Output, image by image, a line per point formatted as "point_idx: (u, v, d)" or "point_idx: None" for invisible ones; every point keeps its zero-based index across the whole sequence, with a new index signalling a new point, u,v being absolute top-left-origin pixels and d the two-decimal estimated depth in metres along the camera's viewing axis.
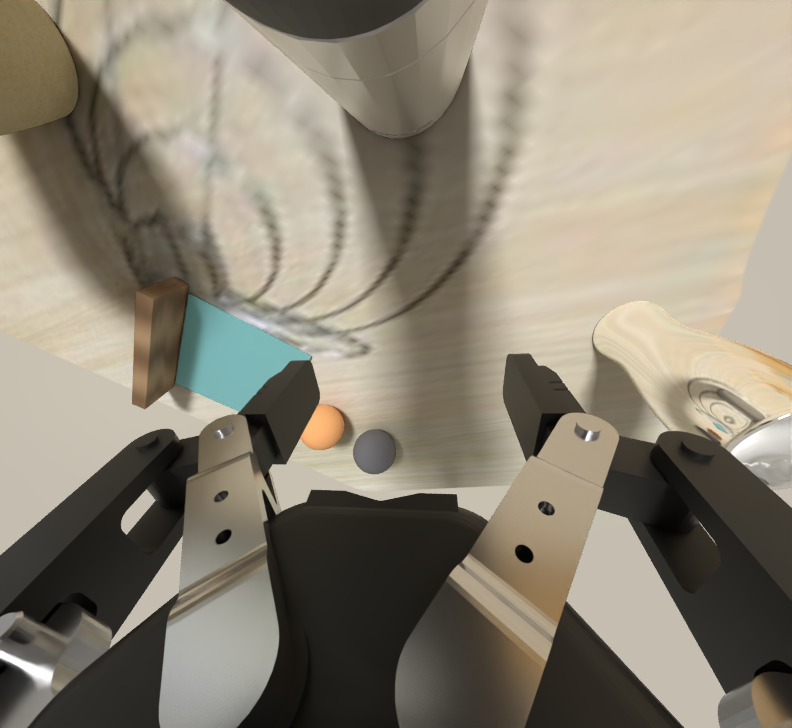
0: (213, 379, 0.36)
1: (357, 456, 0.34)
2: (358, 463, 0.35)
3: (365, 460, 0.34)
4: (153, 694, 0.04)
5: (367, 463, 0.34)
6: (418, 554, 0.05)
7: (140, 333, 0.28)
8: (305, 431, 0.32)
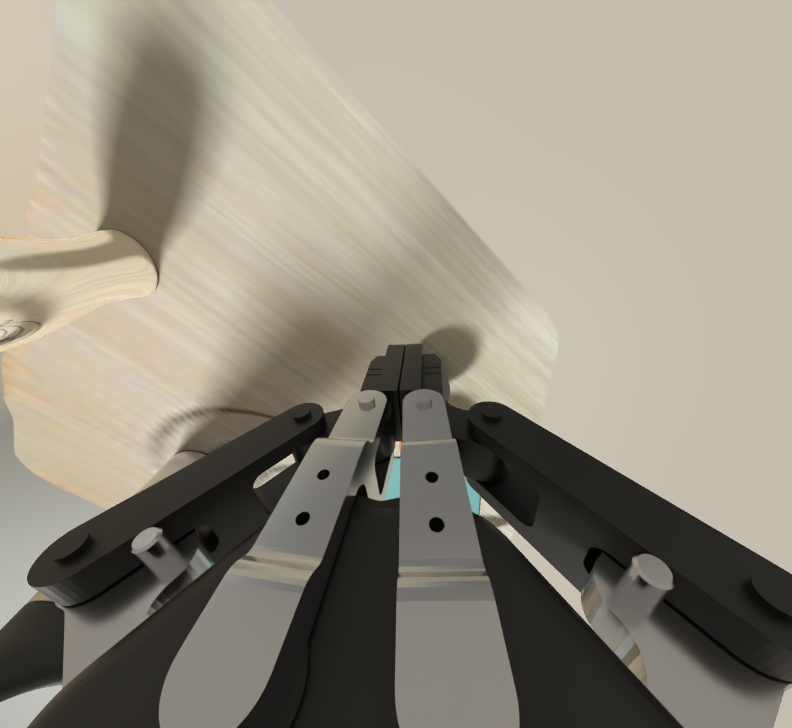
0: None
1: None
2: None
3: None
4: None
5: None
6: None
7: None
8: None
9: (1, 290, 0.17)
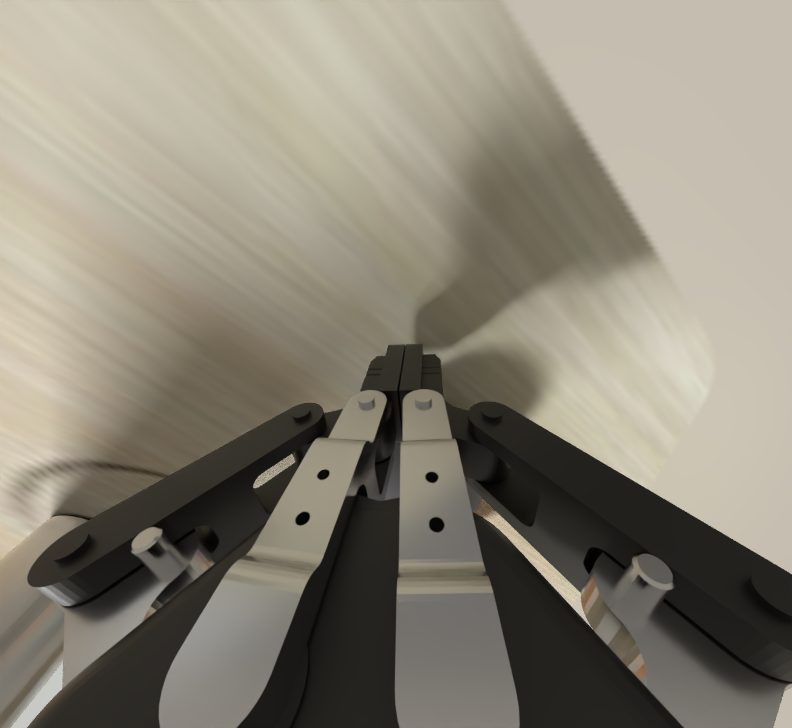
0: None
1: None
2: None
3: None
4: None
5: None
6: None
7: None
8: None
9: None
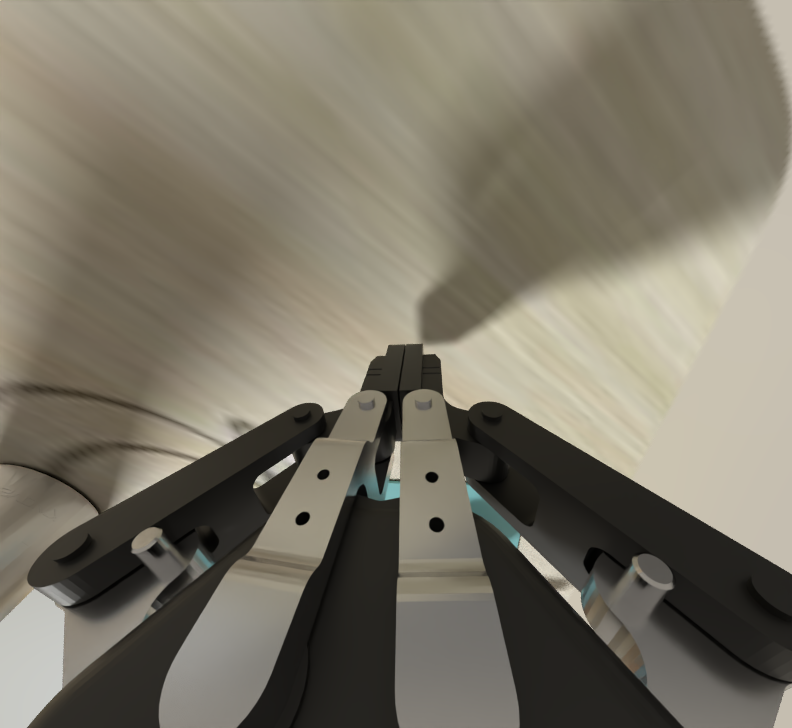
0: None
1: None
2: None
3: None
4: None
5: None
6: None
7: None
8: None
9: None
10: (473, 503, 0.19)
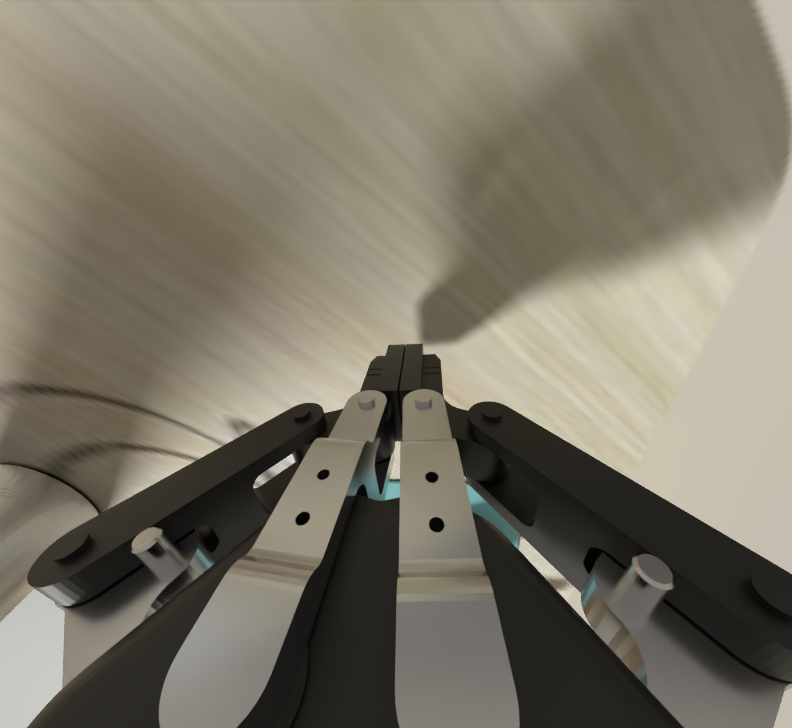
0: None
1: None
2: None
3: None
4: None
5: None
6: None
7: None
8: None
9: None
10: (473, 503, 0.19)
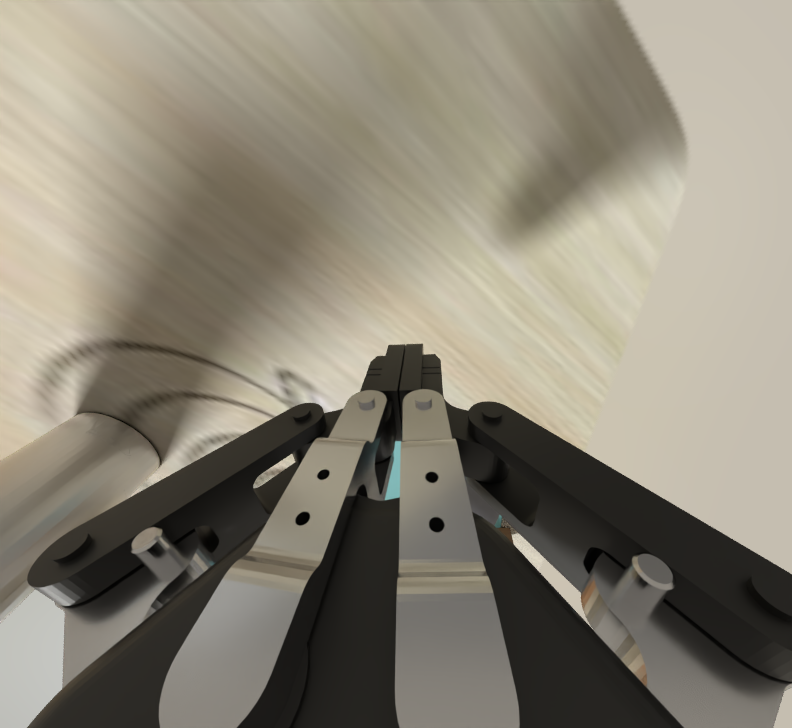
0: None
1: None
2: None
3: None
4: None
5: None
6: None
7: None
8: None
9: None
10: None
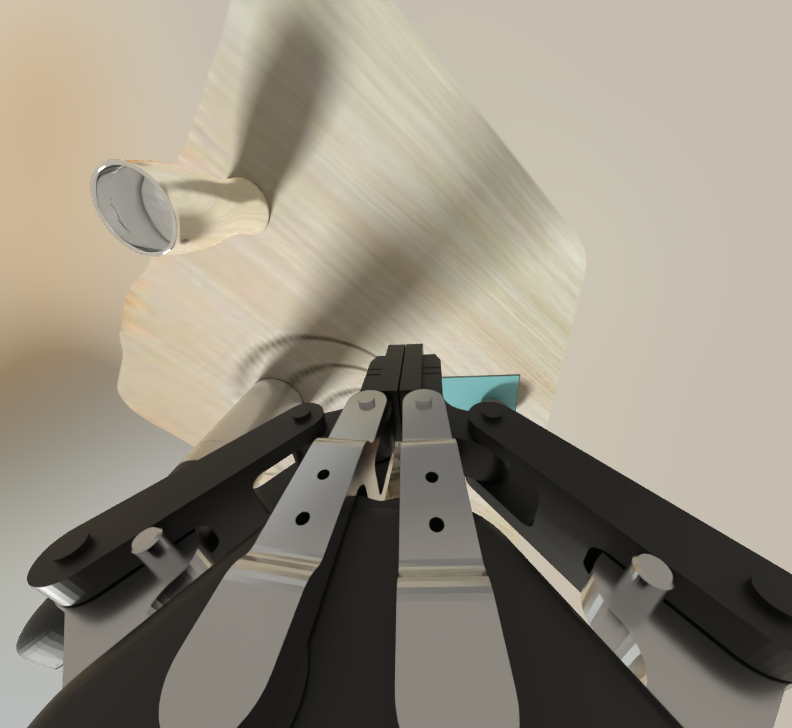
0: None
1: None
2: None
3: None
4: None
5: None
6: None
7: None
8: None
9: (208, 201, 0.24)
10: (494, 386, 0.43)
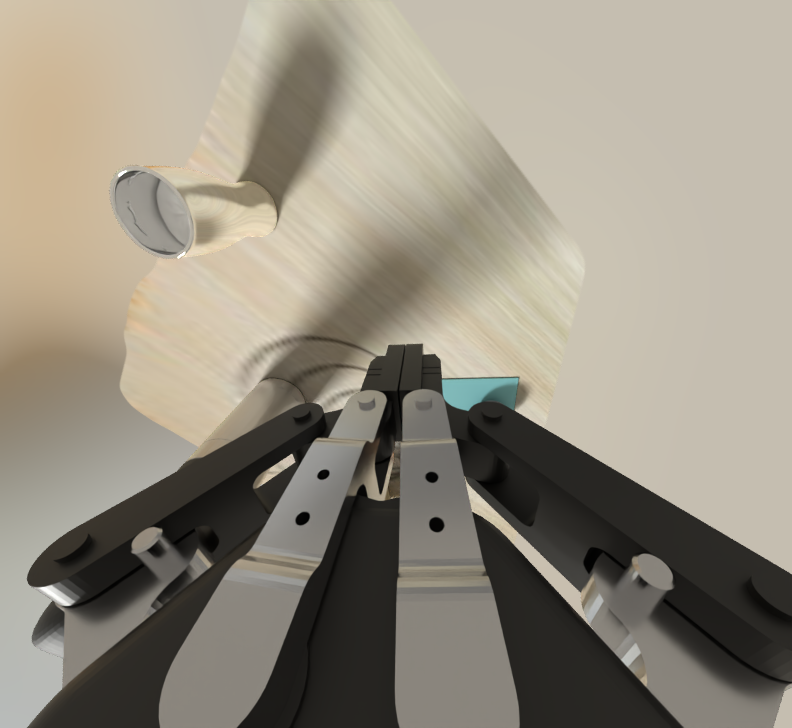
0: None
1: None
2: None
3: None
4: None
5: None
6: None
7: None
8: None
9: (222, 205, 0.25)
10: (494, 388, 0.44)
